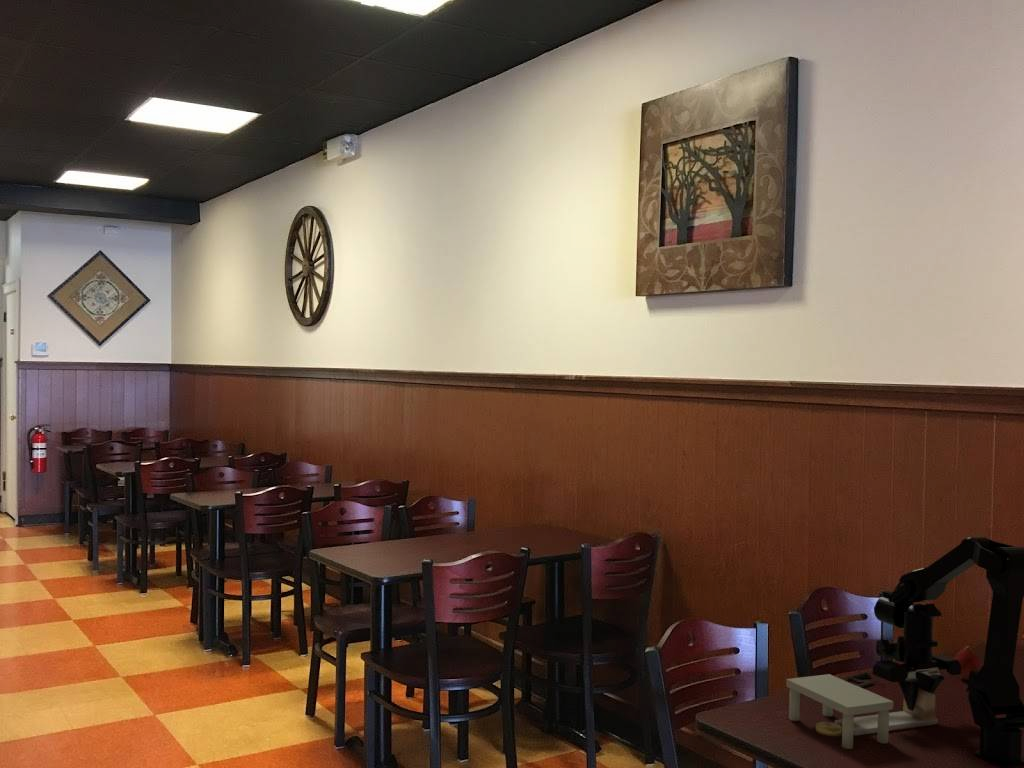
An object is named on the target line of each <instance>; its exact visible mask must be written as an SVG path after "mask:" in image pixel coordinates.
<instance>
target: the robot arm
mask: <svg viewBox="0 0 1024 768" xmlns="http://www.w3.org/2000/svg"><path fill="white" fill-rule="evenodd" d="M975 565H976V566H978V567H980V568H981V569H984V570H985V576H986V577H985V578H986V579H987V582H988V584H989V586H990V588H991V591H992V597H991V603H990V604H991V605H990V613H989V618H988V619H989V620H988V629H987V634H986V642H985V650H984V657H983V664H982V666H981V667H980V670H973V671H970V674H969V680H968V685H967V688H966V690H965V691H966V692H968V695H967V696H968V698H967V699H968V702H969V706H970V710H971V714H972V718H973V723H974V724H975V725H977V726H979V750H976V751H974V755H975V756H977V757H980V758H982V759H984V760H986V761H988V762H990V763H993V764H995V765H996V766H997V765H998V766H999V767H1003V768H1005V767H1011V766H1017V765H1022V764H1023V765H1024V757H1022V749H1023V748H1022V747H1023V746H1022V745H1023V741H1022V740H1023V730H1022V729H1024V702H1023V701H1022V700H1021V698H1020V697H1021V694H1020V692H1021V691H1020V684H1019V681H1018V679H1017V678H1016V675H1015V673H1014V664H1015V658H1016V657H1015V656H1016V652H1017V651H1016V650H1017V643H1018V635H1019V627H1020V623H1021V622H1020V621H1021V613H1022V605H1023V601H1024V600H1023V599H1024V546H1015V545H1011V544H1007V543H1003V542H1000V541H996V540H993V539H991V538H989V537H985V536H969V537H968V536H967V537H966V538H964V539H962V540H961V542H960V543H959V544H957V545H956V546H955V547H954V548H952V549H950V550H949V551H947V553H945V554H943V555H942V556H940V557H939V558H938V559H936V560H935V561H933V562H932V563H931V564H930V565H928V566H925V567H922V568H918V569H914V570H911V571H909V572H907V573H904V574H902V575H901V576H900V578H899V581H898V584H897V586H896V587H895V588H894V590H893V591H891V590H883V591H882V592H881V593H882V594H881V595H882V596H880V597H879V598H878V600H876V603H875V605H874V606H873V612H874V616H875V618H876V619H877V620H878V621H880V622H882V623H885V624H888V625H891V626H893V627H896V628H898V629H902V630H903V631H902V632H903V633H902V635H898V637H897V642H894V643H893V642H891V643H890V642H889V640H888V639H879V640H876V641H875V642H876V643H875V652H876V655H877V656H879V657H880V656H882V658H883V660H877V661H875V662H874V663H873V664H872V675H874V676H875V677H879V678H880V679H883V680H885V681H888V682H892V683H898V685H899V687H900V689H901V692H902V694H903V699H904V698H905V701H906V704H907V707H908V709H909V710H911V711H913V710H914V707H915V703H916V699H917V695H918V690H919V689H922V690H924V691H927V692H929V693H932V694H935V691H936V690H937V688H938V687H939V686H940V684H941V683H942V681H945V678H946V677H945V676H943V675H940V673H941V672H940V670H946V672H947V674H948V675H950V676H956V675H957V676H958V675H960V674H961V664H960V663H959V661H958V660H957V659H954V658H953V657H950V656H948V655H945V654H942V653H939V654H933V653H934V650H933V649H934V647H938V641H937V640H934V618H936V617H937V618H938V617H942V615H943V614H942V612H941V611H940V609H938V608H937V607H936V605H935V603H926V602H933V601H934V602H935V601H936V600H938V599H939V598H940V596H942V595H943V593H944V592H945V591H946V590H947V589H946V588H947V585H948V584H949V583H950V582H951V581H952V580H954V579H955V578H957V577H958V576H960V575H961V574H963V573H965V571H968V570H969V569H971V568H972V567H973V566H975ZM924 602H925V604H922V603H924ZM891 659H894V660H895V661H893V660H891ZM900 662H901V663H902V664H901V663H900ZM1001 715H1005V716H1001ZM997 716H999V717H997Z"/></svg>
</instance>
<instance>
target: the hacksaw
mask: <svg viewBox="0 0 1024 768" xmlns="http://www.w3.org/2000/svg"><path fill="white" fill-rule="evenodd" d="M871 676H872V675H871V674H870V672H866V671H864V672H861V673H858V674H853V675H851V676H848V677H847V678H842V680H844V681H847V682H854V683H855V682H856V683H858V684H855V685H856V686H858V687H861V688H865V687H869V686H871V685H872V686H873V684H874V685H875V686H876V684H875V683H880V684H878V685H879V686H881V685H883V684H884V683H883V682H882V681H880V680H868V679H870V678H871ZM865 679H867V680H865ZM848 680H849V681H848Z"/></svg>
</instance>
